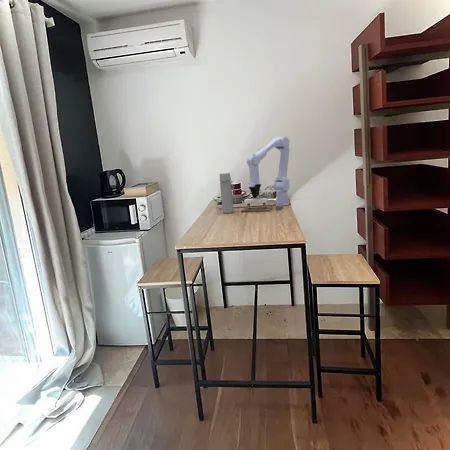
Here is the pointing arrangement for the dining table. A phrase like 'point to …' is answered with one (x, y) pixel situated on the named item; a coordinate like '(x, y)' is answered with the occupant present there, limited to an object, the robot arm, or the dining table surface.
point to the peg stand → (256, 208)
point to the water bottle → (226, 193)
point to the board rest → (279, 207)
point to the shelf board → (256, 200)
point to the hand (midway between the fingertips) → (255, 196)
